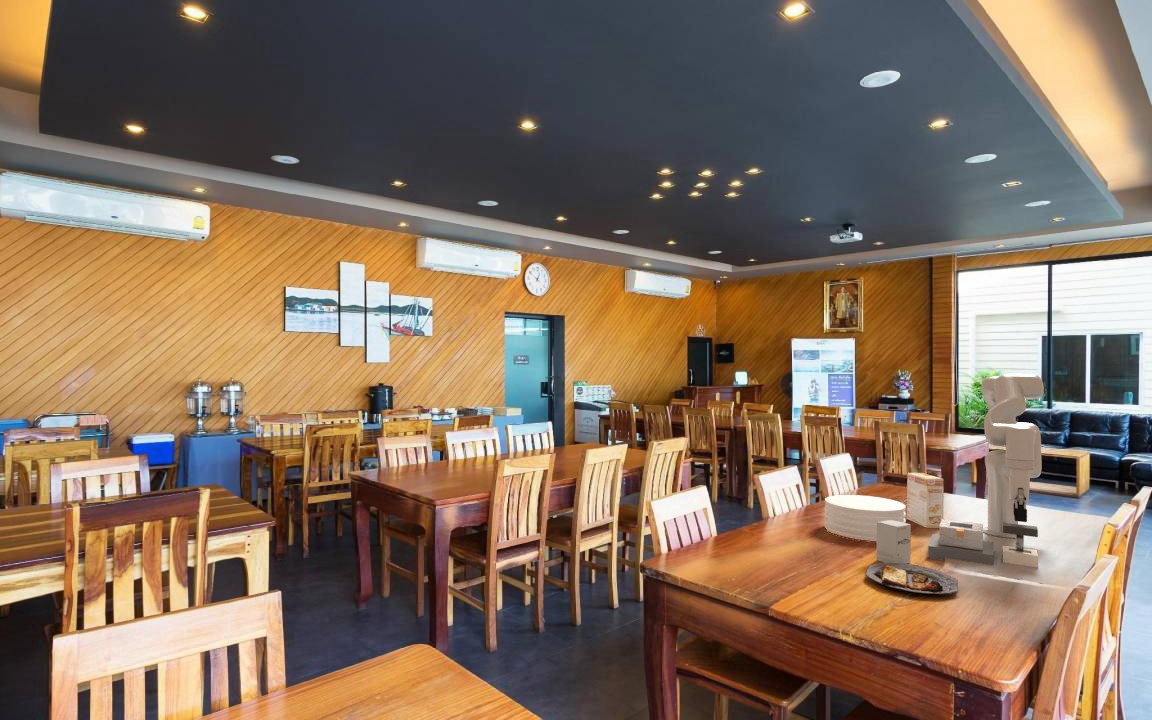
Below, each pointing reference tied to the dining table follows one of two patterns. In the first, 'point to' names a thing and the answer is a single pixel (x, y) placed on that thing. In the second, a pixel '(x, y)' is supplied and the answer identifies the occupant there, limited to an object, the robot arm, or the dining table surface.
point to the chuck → (961, 534)
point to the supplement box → (893, 542)
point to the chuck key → (1020, 533)
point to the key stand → (1020, 556)
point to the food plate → (912, 578)
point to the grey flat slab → (961, 552)
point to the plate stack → (860, 515)
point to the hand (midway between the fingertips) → (1020, 518)
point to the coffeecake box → (925, 499)
